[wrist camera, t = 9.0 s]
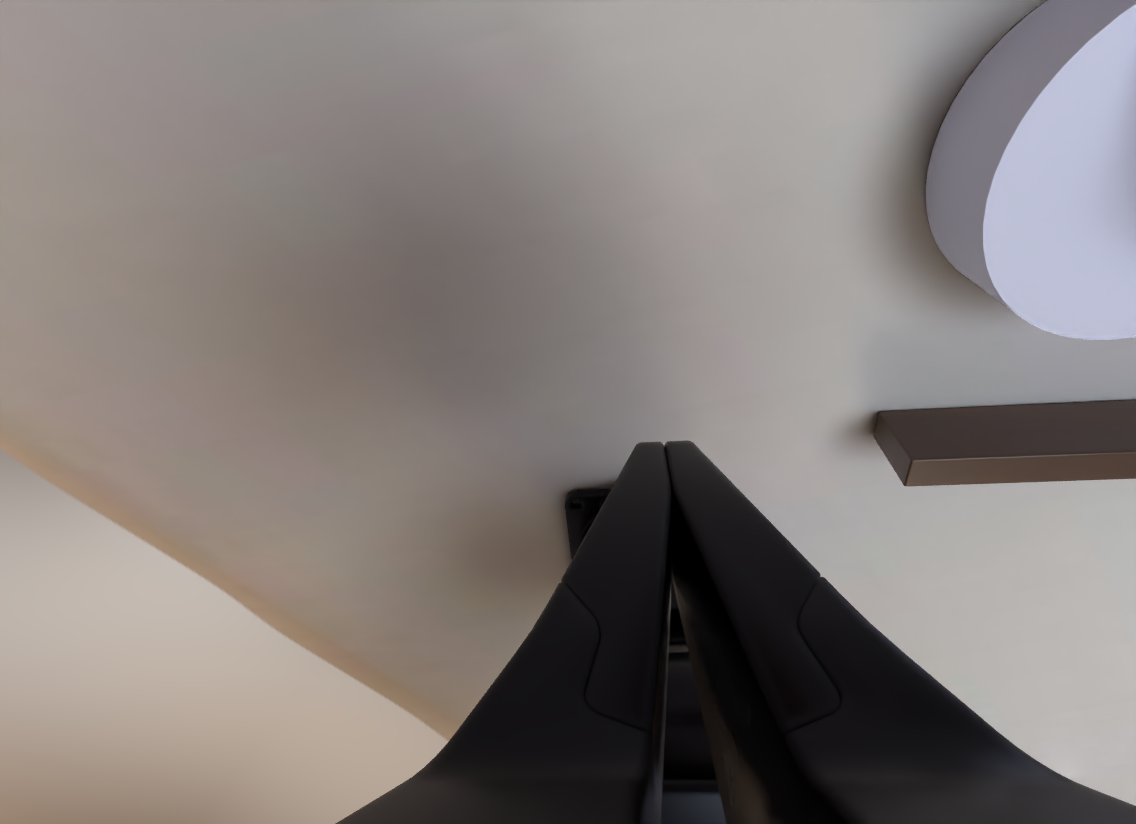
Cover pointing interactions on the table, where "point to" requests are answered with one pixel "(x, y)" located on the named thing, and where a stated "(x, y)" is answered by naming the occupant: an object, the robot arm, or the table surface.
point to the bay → (1010, 443)
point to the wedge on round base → (1047, 171)
